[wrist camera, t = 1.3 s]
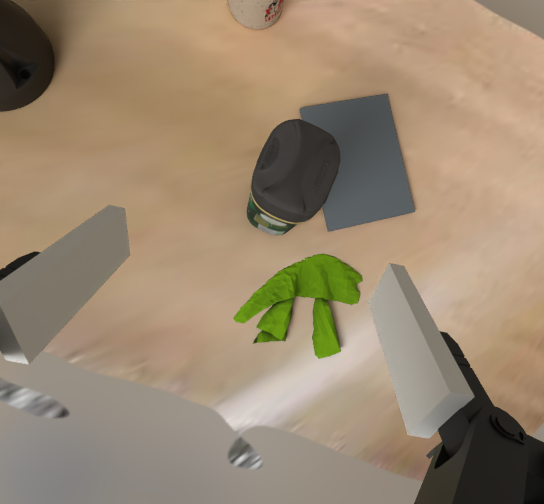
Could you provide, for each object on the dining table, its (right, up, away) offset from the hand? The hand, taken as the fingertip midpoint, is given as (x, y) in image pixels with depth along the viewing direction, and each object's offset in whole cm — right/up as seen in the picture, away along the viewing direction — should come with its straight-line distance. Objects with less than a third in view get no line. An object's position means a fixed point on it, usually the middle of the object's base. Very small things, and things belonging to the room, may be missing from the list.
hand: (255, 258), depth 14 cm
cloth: (+5, -10, +30) cm, 32 cm away
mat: (+15, +15, +31) cm, 38 cm away
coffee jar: (+1, +8, +30) cm, 31 cm away
